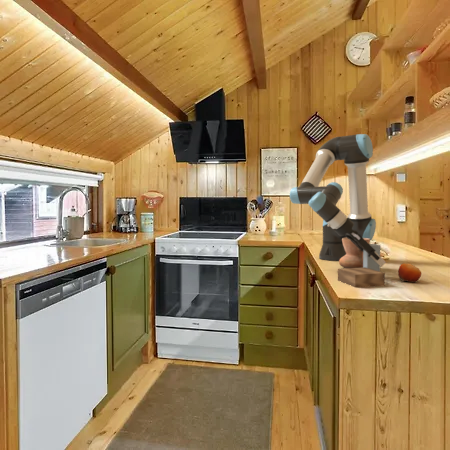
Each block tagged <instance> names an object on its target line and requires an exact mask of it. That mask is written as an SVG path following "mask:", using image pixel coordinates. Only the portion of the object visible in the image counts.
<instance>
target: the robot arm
mask: <svg viewBox="0 0 450 450" xmlns="http://www.w3.org/2000/svg"><path fill="white" fill-rule="evenodd" d="M373 152H374V149H373V143H372V139H371V138H370V136H369V135H368V134H366V133H364V134H363V133H359V134H358V133H357V134H350V135H345V136H344V135H343V136H342V135H341V136H335V137H332V138H330V139H329V140H328V141H326V142H324V143H323V144H322V145H321V146H320V147H319V148H318V150H317V151H316V154H315V159H314V161H313V162H312V164H311V166H310V168H309V169H308V171H307V173H306V175H305V176H304V178H303V180H302V182H301V183H300V185H299V186H295V187H292V188H291V189H290V191H289V200H290V202H291V203H292V204H294V205H295V204H296V205H297V204H298V205H308V206H309V207H310V208H311V209H312V210H313V212H315V213H316V214H317V215H318V216H319V217H320V218H321V219H322V220H323V221H322V245H321V248H320V250H319V256H318V259H320V260H324V261H333V262H334V261H338V262H339V260H340V259H341V258H342V257H343V256H345V255H346V251H345V249H344V246H343V242H342V238H348V239H350V240H351V242H353V243H354V244H355V245H356V246H357V247H358V248H359V249H360V251H362V252H363V249H364V250H365V251H366V252H367V253H368V254H369V255H368V256H369V257H371V258H372V259H373V260H374V261H375V262H376V263H377V264H378V265H379V266H380V268H382V267H383V266H384V265H385V264H387V262H386V260H385V259H384V258H382V257H381V255H380V256H379V255H378V254H377V253H376V252H375V249H373V248H372V247H371V246H370V245H369V244H368V243H367V242H366V241H365V240H364V239H363V238H369V239H370V241H372V240H373V238H374V236H375V234H376V228H377V222H376V219H374V218H372V214H371V213H370V212H369V208H368V207H369V205H368V204H369V200H368V184H367V183H368V182H367V180H368V179H367V178H368V177H367V164H369V162H370V158H373V154H374V153H373ZM335 161H343V162H344V163H343V164H344V165H345V166H346V167H347V179H348V180H347V181H348V194H349V195H348V196H349V214H348V215H346V214H345V213H344V212H343V211H342V210H341V209H340V208H338V206H337V203H338V202H339V200H340V199H341V198H342V195H343V192H344V188H343V186H342V185H341V184H340V183H338V182H336V181H334V182H333V181H331V182H329V183H328V184H326V185H325V186H322V185H321V186H320V184H321V182H322V181H323V178H324V176H325V175H326V172H327V171H328V169H329V167H330V166H331V165H333V163H334V162H335Z"/></svg>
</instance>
